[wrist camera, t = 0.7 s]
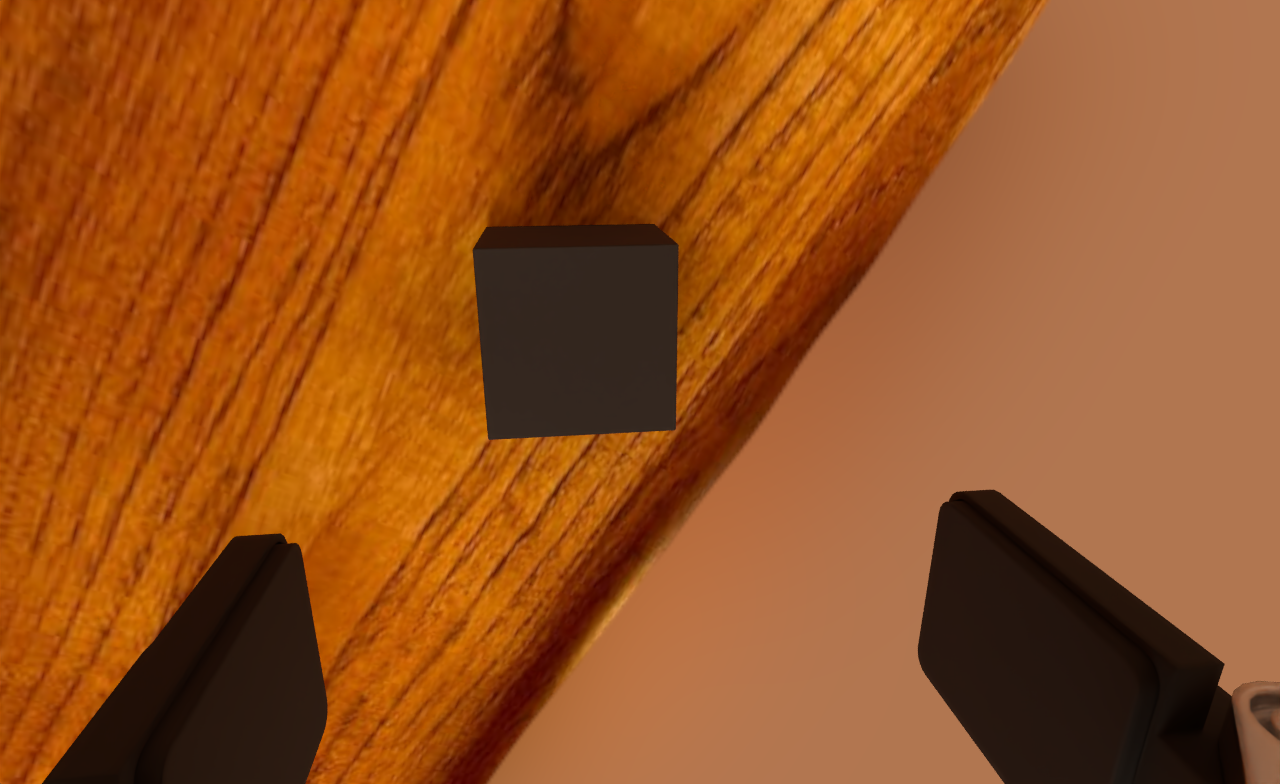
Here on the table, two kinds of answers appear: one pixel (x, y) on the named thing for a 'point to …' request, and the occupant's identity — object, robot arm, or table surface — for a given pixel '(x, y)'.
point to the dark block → (577, 329)
